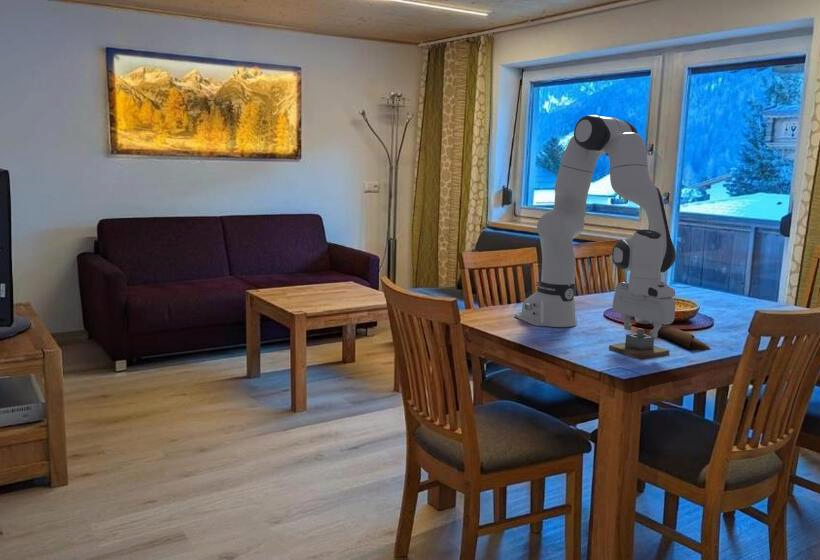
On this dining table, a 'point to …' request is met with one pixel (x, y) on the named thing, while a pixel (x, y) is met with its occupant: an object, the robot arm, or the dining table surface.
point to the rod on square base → (639, 354)
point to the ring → (639, 342)
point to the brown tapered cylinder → (682, 338)
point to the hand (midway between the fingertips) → (640, 333)
